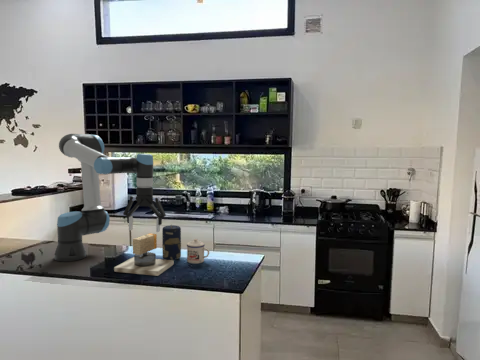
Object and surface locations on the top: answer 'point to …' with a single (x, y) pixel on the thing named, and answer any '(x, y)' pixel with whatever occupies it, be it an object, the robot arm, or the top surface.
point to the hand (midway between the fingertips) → (144, 230)
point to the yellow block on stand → (144, 250)
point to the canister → (171, 242)
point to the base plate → (144, 267)
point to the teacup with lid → (196, 251)
